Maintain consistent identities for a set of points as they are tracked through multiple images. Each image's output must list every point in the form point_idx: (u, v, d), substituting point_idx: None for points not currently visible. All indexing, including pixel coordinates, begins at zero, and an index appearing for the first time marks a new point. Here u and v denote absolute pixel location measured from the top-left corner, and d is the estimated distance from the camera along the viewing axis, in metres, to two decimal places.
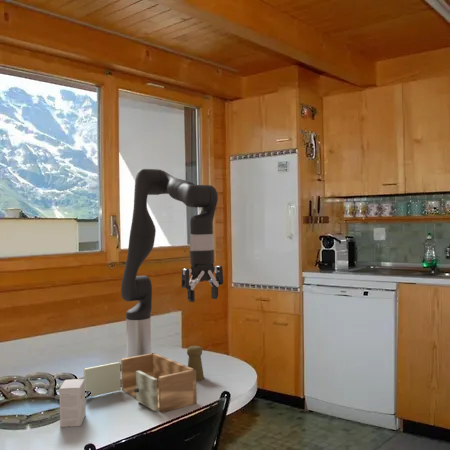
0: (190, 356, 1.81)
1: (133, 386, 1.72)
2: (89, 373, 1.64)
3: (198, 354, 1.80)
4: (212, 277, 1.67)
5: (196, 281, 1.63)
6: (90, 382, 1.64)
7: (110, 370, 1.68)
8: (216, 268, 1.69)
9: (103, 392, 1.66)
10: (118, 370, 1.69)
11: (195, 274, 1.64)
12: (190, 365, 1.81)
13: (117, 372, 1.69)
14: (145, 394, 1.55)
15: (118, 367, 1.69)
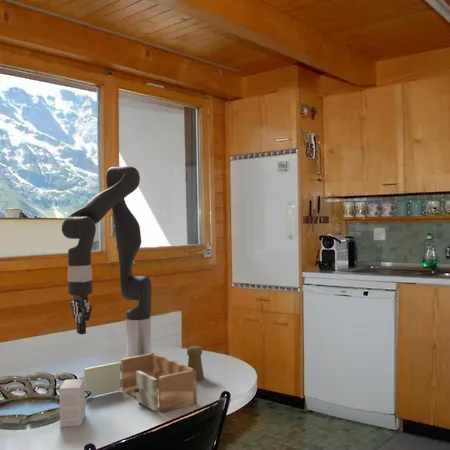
0: (190, 356, 1.81)
1: (133, 386, 1.72)
2: (89, 373, 1.64)
3: (198, 354, 1.80)
4: None
5: None
6: (90, 382, 1.64)
7: (110, 370, 1.68)
8: None
9: (103, 392, 1.66)
10: (118, 370, 1.69)
11: None
12: (190, 365, 1.81)
13: (117, 372, 1.69)
14: (145, 394, 1.55)
15: (118, 367, 1.69)
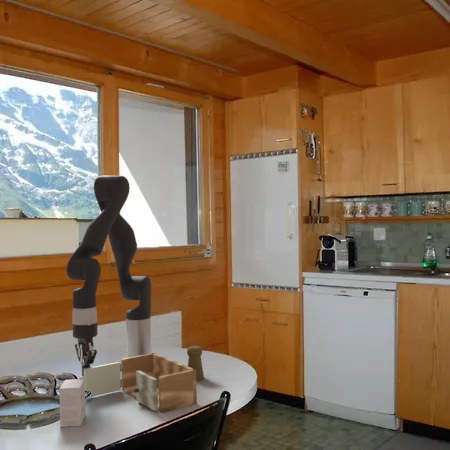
0: (190, 356, 1.81)
1: (133, 386, 1.72)
2: (89, 373, 1.64)
3: (198, 354, 1.80)
4: None
5: None
6: (90, 382, 1.64)
7: (110, 370, 1.68)
8: None
9: (103, 392, 1.66)
10: (118, 370, 1.69)
11: None
12: (190, 365, 1.81)
13: (117, 372, 1.69)
14: (145, 394, 1.55)
15: (118, 367, 1.69)
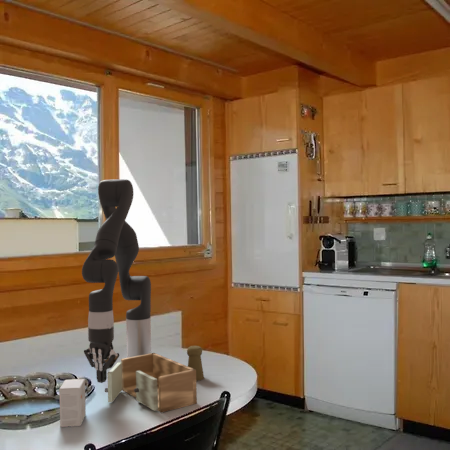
0: (190, 356, 1.81)
1: (133, 386, 1.72)
2: (112, 376, 1.60)
3: (198, 354, 1.80)
4: None
5: None
6: (113, 385, 1.60)
7: (118, 371, 1.67)
8: None
9: (117, 394, 1.64)
10: (121, 370, 1.69)
11: None
12: (190, 365, 1.81)
13: (121, 372, 1.69)
14: (145, 394, 1.55)
15: (121, 367, 1.69)
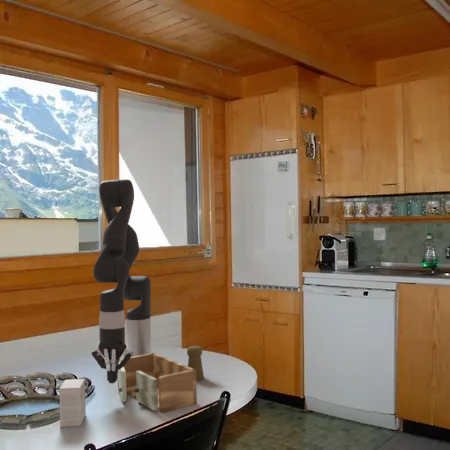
0: (190, 356, 1.81)
1: (133, 386, 1.72)
2: None
3: (198, 354, 1.80)
4: None
5: None
6: None
7: None
8: None
9: None
10: None
11: None
12: (190, 365, 1.81)
13: None
14: (145, 394, 1.55)
15: None
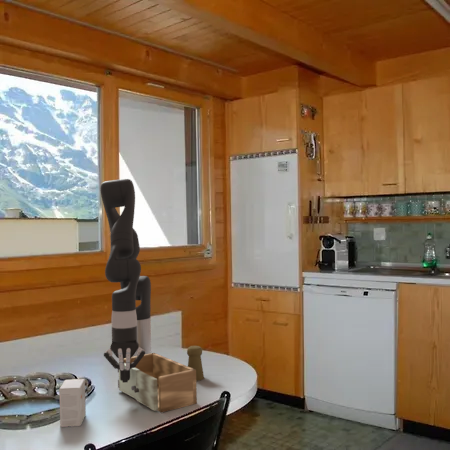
0: (190, 356, 1.81)
1: None
2: None
3: (198, 354, 1.80)
4: None
5: None
6: None
7: None
8: None
9: None
10: None
11: None
12: (190, 365, 1.81)
13: None
14: (145, 394, 1.55)
15: None
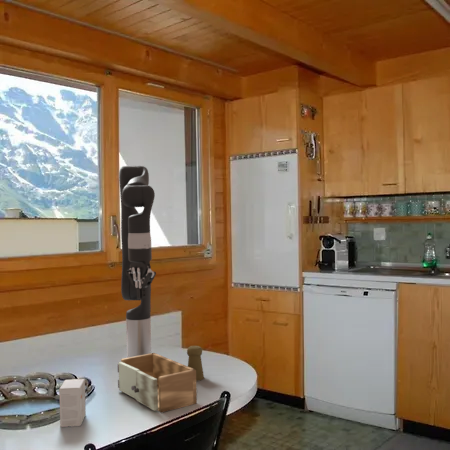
0: (190, 356, 1.81)
1: None
2: None
3: (198, 354, 1.80)
4: None
5: None
6: None
7: None
8: None
9: None
10: None
11: None
12: (190, 365, 1.81)
13: None
14: (145, 394, 1.55)
15: None
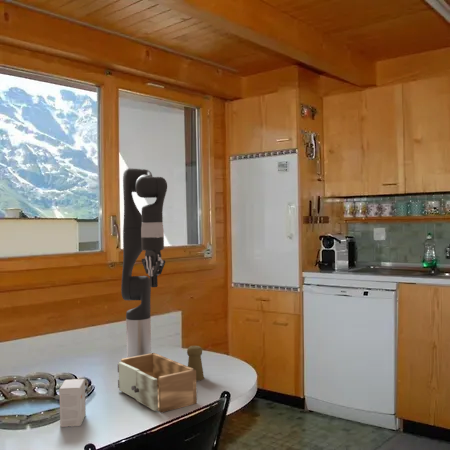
0: (190, 356, 1.81)
1: None
2: None
3: (198, 354, 1.80)
4: None
5: None
6: None
7: None
8: None
9: None
10: None
11: None
12: (190, 365, 1.81)
13: None
14: (145, 394, 1.55)
15: None
